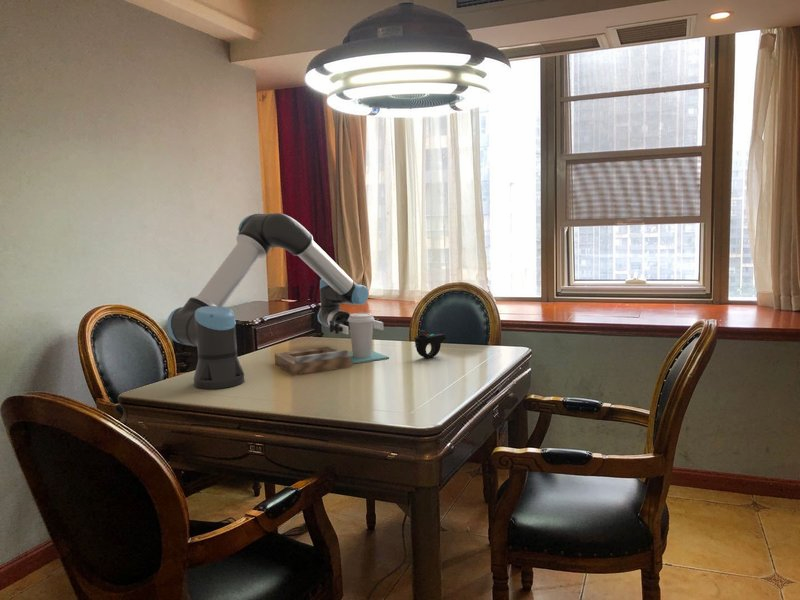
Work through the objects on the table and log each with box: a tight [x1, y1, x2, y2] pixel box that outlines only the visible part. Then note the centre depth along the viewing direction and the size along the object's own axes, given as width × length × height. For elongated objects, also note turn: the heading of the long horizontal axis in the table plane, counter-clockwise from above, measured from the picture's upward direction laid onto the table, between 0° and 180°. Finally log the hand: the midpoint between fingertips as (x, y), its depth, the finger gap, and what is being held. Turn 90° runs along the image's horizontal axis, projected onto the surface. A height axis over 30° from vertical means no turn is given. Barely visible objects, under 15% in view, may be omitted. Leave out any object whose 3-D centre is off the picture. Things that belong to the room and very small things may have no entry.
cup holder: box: [274, 346, 352, 375], centre depth 218 cm, size 20×20×6 cm
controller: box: [414, 329, 447, 359], centre depth 224 cm, size 4×12×10 cm, turn 124°
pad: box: [348, 350, 390, 365], centre depth 228 cm, size 14×14×1 cm
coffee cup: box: [348, 312, 375, 358], centre depth 227 cm, size 10×10×15 cm
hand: (365, 328), depth 223 cm, fingers open, 13 cm apart
